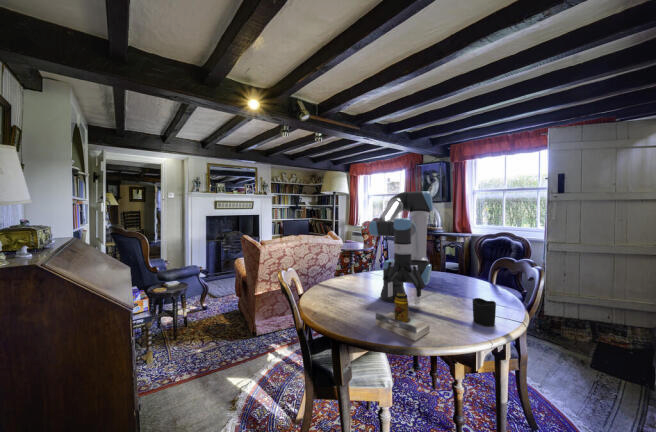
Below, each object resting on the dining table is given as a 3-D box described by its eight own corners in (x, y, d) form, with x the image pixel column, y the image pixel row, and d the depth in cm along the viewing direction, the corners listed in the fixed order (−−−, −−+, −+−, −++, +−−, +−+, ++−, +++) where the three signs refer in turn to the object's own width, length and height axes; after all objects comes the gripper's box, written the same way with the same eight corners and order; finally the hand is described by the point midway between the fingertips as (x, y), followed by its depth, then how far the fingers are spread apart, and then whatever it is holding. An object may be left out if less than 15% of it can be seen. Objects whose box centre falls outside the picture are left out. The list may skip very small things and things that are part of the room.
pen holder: (487, 318, 129) (487, 297, 129) (500, 326, 120) (500, 304, 119) (468, 318, 129) (468, 298, 128) (480, 327, 119) (480, 305, 119)
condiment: (393, 323, 118) (392, 296, 117) (394, 315, 126) (394, 290, 125) (410, 325, 115) (410, 297, 115) (410, 317, 123) (410, 291, 123)
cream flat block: (375, 325, 123) (375, 313, 122) (390, 317, 131) (390, 306, 131) (414, 341, 108) (414, 327, 108) (429, 331, 116) (429, 318, 116)
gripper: (375, 250, 126) (375, 295, 127) (424, 257, 107) (425, 309, 108) (384, 248, 131) (385, 291, 132) (433, 255, 112) (433, 304, 113)
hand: (403, 299), depth 120 cm, fingers open, 13 cm apart
